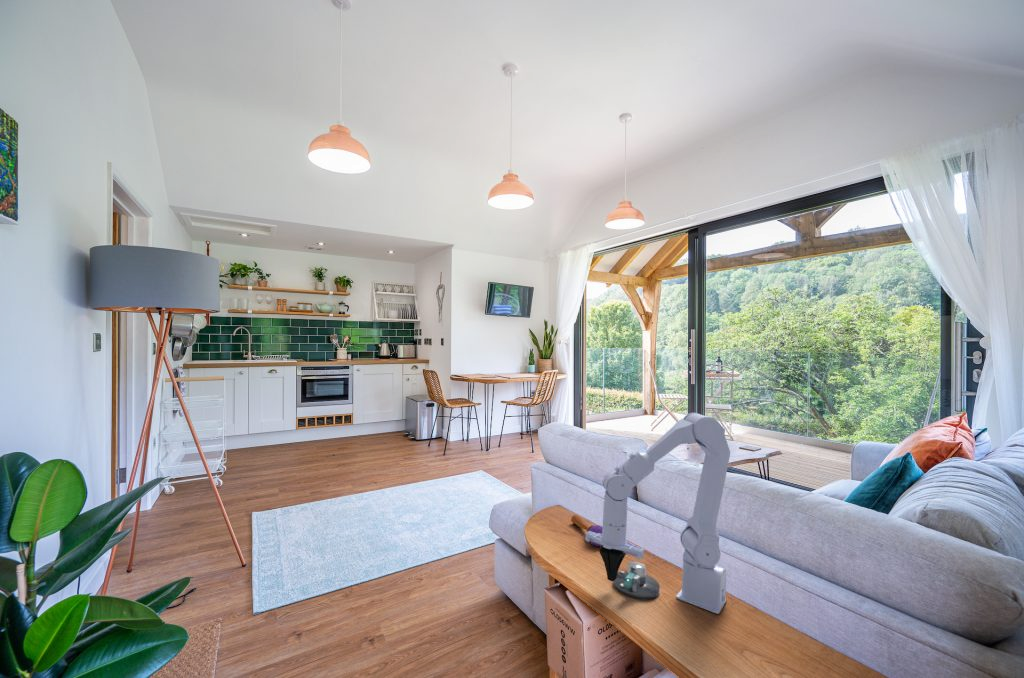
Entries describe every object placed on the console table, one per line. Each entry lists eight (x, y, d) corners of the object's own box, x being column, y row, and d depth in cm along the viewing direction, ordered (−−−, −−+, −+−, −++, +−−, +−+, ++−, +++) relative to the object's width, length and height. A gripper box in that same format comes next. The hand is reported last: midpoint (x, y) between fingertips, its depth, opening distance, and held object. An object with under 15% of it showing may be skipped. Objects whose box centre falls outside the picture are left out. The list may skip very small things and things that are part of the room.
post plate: (665, 587, 107) (666, 569, 107) (649, 605, 98) (650, 585, 99) (624, 572, 114) (625, 555, 114) (605, 587, 105) (606, 569, 106)
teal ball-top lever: (630, 574, 109) (631, 559, 110) (647, 579, 107) (648, 565, 107) (616, 590, 101) (617, 574, 101) (634, 596, 99) (635, 580, 99)
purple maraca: (585, 512, 148) (612, 530, 129) (581, 530, 147) (609, 550, 128) (569, 509, 147) (595, 527, 128) (566, 527, 146) (591, 548, 127)
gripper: (580, 518, 106) (577, 574, 105) (636, 535, 97) (633, 597, 96) (593, 511, 112) (591, 564, 111) (648, 527, 103) (645, 585, 102)
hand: (611, 579), depth 104 cm, fingers closed
